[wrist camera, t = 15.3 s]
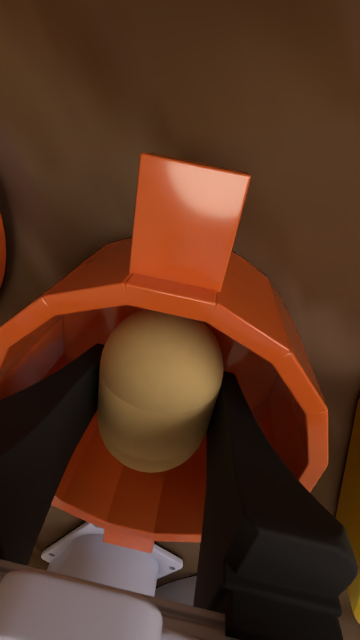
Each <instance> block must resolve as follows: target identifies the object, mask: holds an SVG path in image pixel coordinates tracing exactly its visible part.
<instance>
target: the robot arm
mask: <svg viewBox="0 0 360 640" xmlns="http://www.w3.org/2000/svg"><path fill="white" fill-rule="evenodd" d="M104 346H105V345H104V344H99V343H97V344H95V345H94V346H92V347H91V348H90V349H88V350H87V351H85V352H84V353H83V354H81V355H80V356H78V357H77V358H76V359H74V360H73V361H71V362H70V363H68V364H67V365H65V366H64V367H62V368H61V369H59V370H58V371H56V372H54V373H53V374H51V375H49V376H48V377H46V378H44V379H43V380H41V381H39V382H37V383H35V384H34V385H32V386H30V387H28V388H26V389H24V390H22V391H20V392H17V393H15V394H13V395H10V396H8V397H6V398H3V399H1V400H0V640H343V637H342V633H341V628H340V624H339V620H338V617H340V616H341V615H342V610H341V606H340V602H339V598H338V596H339V595H340V594H341V593H342V592H343V591H344V590H345V589H346V588H347V587H348V586H349V585H350V584H351V583H352V582H353V581H354V579H355V578H356V576H357V575H358V564H357V561H356V558H355V555H354V552H353V549H352V546H351V543H350V540H349V538H348V536H347V533H346V531H345V528H344V526H343V525H342V524H341V523H340V522H339V521H338V520H337V519H336V518H335V517H334V516H333V515H332V514H331V513H330V512H329V511H328V510H326V509H325V508H324V507H323V506H322V505H321V504H320V503H319V502H318V501H317V500H316V499H315V498H314V497H313V496H312V494H311V493H310V492H309V491H308V490H307V489H306V488H305V487H304V486H303V485H302V484H301V483H300V481H299V480H298V479H297V478H296V477H295V476H294V474H293V473H292V472H291V471H290V469H289V468H288V467H287V466H286V465H285V463H284V462H283V461H282V460H281V458H280V457H279V456H278V454H277V453H276V451H275V450H274V448H273V447H272V446H271V444H270V443H269V441H268V439H267V438H266V436H265V435H264V433H263V431H262V430H261V428H260V426H259V424H258V423H257V421H256V419H255V417H254V415H253V413H252V411H251V409H250V407H249V405H248V403H247V401H246V399H245V397H244V395H243V392H242V390H241V388H240V385H239V383H238V380H237V377H236V375H235V374H234V373H230V372H226V371H223V377H222V383H221V388H220V391H219V394H218V397H217V400H216V403H215V407H214V410H213V413H212V416H211V419H210V422H209V425H208V429H207V432H206V495H205V505H204V516H203V525H202V535H201V544H200V553H199V562H198V570H197V579H196V587H195V595H194V603H193V606H190V605H185V604H181V603H177V602H173V601H169V600H165V599H161V598H157V597H154V595H155V589H156V583H157V579H158V578H161V577H163V576H165V575H168V574H170V573H172V572H175V571H177V570H179V569H181V568H182V567H183V561H182V559H180V558H179V557H177V556H175V555H173V554H172V553H170V552H168V551H166V550H165V549H163V548H161V547H159V546H158V545H156V544H154V547H153V550H152V553H147V552H142V551H138V550H134V549H130V548H126V547H122V546H117V545H113V544H109V543H105V542H103V536H104V529H103V528H100V527H97V526H95V525H93V524H91V523H89V522H85V523H84V524H82V525H81V526H79V527H78V528H76V529H75V530H73V531H72V532H71V533H69V534H68V535H66V536H65V537H63V538H62V539H60V540H59V541H57V542H56V543H54V544H53V545H51V546H50V547H48V548H47V549H46V550H44V551H43V552H42V555H41V558H42V559H43V560H45V561H47V562H49V563H50V564H49V566H48V569H47V571H46V570H42V569H38V568H34V567H30V566H27V565H28V562H29V560H30V557H31V554H32V552H33V549H34V546H35V544H36V541H37V539H38V536H39V533H40V531H41V528H42V526H43V523H44V521H45V518H46V516H47V513H48V511H49V508H50V506H51V503H52V501H53V499H54V496H55V494H56V491H57V489H58V487H59V484H60V482H61V479H62V477H63V475H64V473H65V470H66V468H67V466H68V463H69V461H70V459H71V457H72V455H73V453H74V451H75V449H76V447H77V445H78V443H79V442H80V440H81V438H82V436H83V434H84V433H85V431H86V429H87V427H88V425H89V424H90V422H91V420H92V418H93V416H94V415H95V413H96V411H97V408H98V389H99V371H100V360H101V355H102V350H103V348H104Z"/></svg>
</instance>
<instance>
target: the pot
mask: <svg viewBox="0 0 360 640" xmlns="http://www.w3.org/2000/svg"><path fill="white" fill-rule="evenodd" d="M250 180H251V176H250V175H249V173H247V172H244V171H239V170H234V169H230V168H225V167H220V166H215V165H210V164H205V163H200V162H195V161H190V160H185V159H180V158H175V157H170V156H166V155H161V154H156V153H141V155H140V163H139V173H138V183H137V194H136V204H135V214H134V225H133V235H132V237H131V238H127V239H123V240H120V241H118V242H114V243H109V244H107V245H105V246H103V247H102V248H101V249H99V250H98V251H97V252H95V253H94V254H93V255H91V256H90V257H89V258H87V259H86V260H85V261H83V262H82V263H81V264H79V265H78V266H77V267H75V268H74V269H73V270H71V271H70V272H69V273H67V274H66V275H65V276H64V277H62V278H61V279H60V280H59V281H57V282H56V283H55V284H53V285H52V286H51V287H50V288H48V289H47V290H46V291H45V292H43V293H42V294H41V295H39V296H38V297H37V298H36V299H34V300H33V301H32V302H31V303H29V304H28V305H27V306H25V307H24V308H23V309H22V310H20V311H19V312H18V313H17V314H15V315H14V316H13V317H11V318H10V319H9V320H8V321H6V322H5V323H4V324H3V325H1V326H0V400H1V399H3V398H6V397H8V396H10V395H13V394H15V393H17V392H20V391H22V390H24V389H26V388H28V387H30V386H32V385H34V384H35V383H37V382H39V381H41V380H43V379H44V378H46V377H48V376H49V375H51V374H53V373H54V372H56V371H58V370H59V369H61V368H62V367H64V366H65V365H67V364H68V363H70V362H71V361H73V360H74V359H76V358H77V357H78V356H80V355H81V354H83V353H84V352H85V351H87V350H88V349H90V348H91V347H92V346H94V345H95V344H97V343H99V344H104V345H105V343H106V341H107V339H108V337H109V335H110V334H111V333H112V331H113V330H114V329H115V328H116V326H117V325H118V324H119V323H120V322H121V321H123V320H124V319H125V318H127V317H128V316H129V315H131V314H132V313H135V312H137V311H139V310H142V309H148V310H152V311H157V312H162V313H166V314H171V315H175V316H180V317H185V318H189V319H194V320H198V321H203V322H204V323H205V324H206V325H207V326H208V327H209V328H210V330H211V331H212V332H213V334H214V336H215V337H216V339H217V341H218V343H219V346H220V349H221V352H222V357H223V368H224V371H226V372H230V373H234V374H235V375H236V377H237V380H238V383H239V385H240V388H241V390H242V392H243V395H244V397H245V399H246V401H247V403H248V405H249V407H250V409H251V411H252V413H253V415H254V417H255V419H256V421H257V423H258V424H259V426H260V428H261V430H262V431H263V433H264V435H265V436H266V438H267V439H268V441H269V443H270V444H271V446H272V447H273V448H274V450H275V451H276V453H277V454H278V456H279V457H280V458H281V460H282V461H283V462H284V463H285V465H286V466H287V467H288V468H289V469H290V471H291V472H292V473H293V474H294V476H295V477H296V478H297V479H298V480H299V481H300V483H301V484H302V485H303V486H304V487H305V488H306V489H307V490H308V491H309V492H311V490H312V489H313V487H314V486H315V484H316V483H317V481H318V480H319V478H320V477H321V475H322V474H323V472H324V471H325V469H326V468H327V465H328V409H327V406H326V403H325V401H324V398H323V395H322V393H321V390H320V388H319V385H318V383H317V380H316V377H315V375H314V372H313V370H312V367H311V365H310V362H309V360H308V357H307V354H306V352H305V349H304V347H303V344H302V342H301V339H300V336H299V334H298V331H297V329H296V326H295V324H294V321H293V319H292V318H291V316H290V314H289V313H288V311H287V309H286V308H285V306H284V304H283V302H282V300H281V298H280V296H279V294H278V293H277V292H276V290H275V289H274V287H273V286H272V284H271V282H270V281H269V279H267V277H266V276H264V275H263V274H262V273H261V272H260V271H259V270H258V269H256V268H255V267H254V266H253V265H251V264H250V263H249V262H248V261H246V260H245V259H244V258H242V257H241V256H239V255H237V254H235V253H234V252H232V248H233V244H234V240H235V236H236V233H237V229H238V225H239V221H240V217H241V214H242V210H243V206H244V202H245V199H246V195H247V191H248V187H249V183H250ZM205 495H206V435H205V436H204V438H203V440H202V442H201V444H200V446H199V448H198V449H197V450H196V451H195V453H194V454H193V455H192V456H191V457H190V458H189V459H188V460H186V461H185V462H184V463H182V464H181V465H179V466H176V467H174V468H172V469H170V470H166V471H162V472H154V473H148V472H141V471H137V470H134V469H131V468H129V467H127V466H126V465H124V464H122V463H121V462H120V461H119V460H117V459H116V458H115V457H114V456H113V455H112V454H111V453H110V452H109V450H108V449H107V448H106V446H105V444H104V441H103V439H102V437H101V435H100V432H99V427H98V420H97V411H96V413H95V415H94V416H93V418H92V420H91V422H90V424H89V425H88V427H87V429H86V431H85V433H84V434H83V436H82V438H81V440H80V442H79V443H78V445H77V447H76V449H75V451H74V453H73V455H72V457H71V459H70V461H69V463H68V466H67V468H66V470H65V473H64V475H63V477H62V479H61V482H60V484H59V487H58V489H57V491H56V494H55V496H54V499H53V501H52V503H51V505H53V506H55V507H57V508H59V509H61V510H63V511H65V512H68V513H70V514H72V515H74V516H76V517H78V518H80V519H83V520H85V521H87V522H89V523H91V524H93V525H95V526H97V527H100V528H103V529H104V536H103V542H105V543H109V544H113V545H117V546H122V547H126V548H130V549H134V550H138V551H142V552H147V553H152V550H153V547H154V543H155V541H167V542H201V535H202V525H203V516H204V505H205Z"/></svg>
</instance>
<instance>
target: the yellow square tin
mask: <svg viewBox="0 0 360 640" xmlns="http://www.w3.org/2000/svg"><path fill="white" fill-rule="evenodd" d="M336 519H337V520H338V521H339V522H340V523H341V524H342V525H343V526H344V528H345V531H346V533H347V536H348V538H349V540H350V543H351V546H352V549H353V552H354V555H355V558H356V561H357V564H358V575H357V576H356V578H355V579H354V581H353V582H352V583H351V584H350V585H349V586H348V587H347V588H346V589H347V593H348V597H349V600H350V604H351V608H352V611H353V614H354V616H355V618H356V620H357V621H358V623H359V624H360V398H359V400H358V404H357V409H356V414H355V419H354V424H353V430H352V435H351V440H350V445H349V450H348V456H347V461H346V466H345V471H344V476H343V482H342V487H341V492H340V497H339V502H338V508H337V513H336Z"/></svg>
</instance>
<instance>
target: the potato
mask: <svg viewBox="0 0 360 640" xmlns="http://www.w3.org/2000/svg"><path fill="white" fill-rule="evenodd" d="M223 371H224V368H223V357H222V352H221V349H220V346H219V343H218V341H217V339H216V337H215V336H214V334H213V332H212V331H211V330H210V328H209V327H208V326H207V325H206V324H205V323H204V322H203V321H198V320H194V319H189V318H185V317H180V316H175V315H171V314H166V313H162V312H157V311H152V310H148V309H142V310H139V311H137V312H135V313H132V314H131V315H129V316H128V317H127V318H125V319H124V320H123V321H121V322H120V323H119V324H118V325H117V326H116V328H115V329H114V330H113V331H112V333H111V334H110V335H109V337H108V339H107V341H106V343H105V346H104V348H103V350H102V355H101V360H100V371H99V389H98V408H97V420H98V427H99V432H100V435H101V437H102V439H103V441H104V444H105V446H106V448H107V449H108V450H109V452H110V453H111V454H112V455H113V456H114V457H115V458H116V459H117V460H119V461H120V462H121V463H122V464H124V465H126V466H127V467H129V468H131V469H134V470H137V471H141V472H148V473H154V472H162V471H166V470H170V469H172V468H174V467H176V466H179V465H181V464H182V463H184V462H185V461H186V460H188V459H189V458H190V457H191V456H192V455H193V454H194V453H195V451H196V450H197V449H198V448H199V446H200V444H201V442H202V440H203V438H204V436H205V435H206V432H207V429H208V425H209V422H210V419H211V416H212V413H213V410H214V407H215V403H216V400H217V397H218V394H219V391H220V388H221V383H222V377H223Z"/></svg>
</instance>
